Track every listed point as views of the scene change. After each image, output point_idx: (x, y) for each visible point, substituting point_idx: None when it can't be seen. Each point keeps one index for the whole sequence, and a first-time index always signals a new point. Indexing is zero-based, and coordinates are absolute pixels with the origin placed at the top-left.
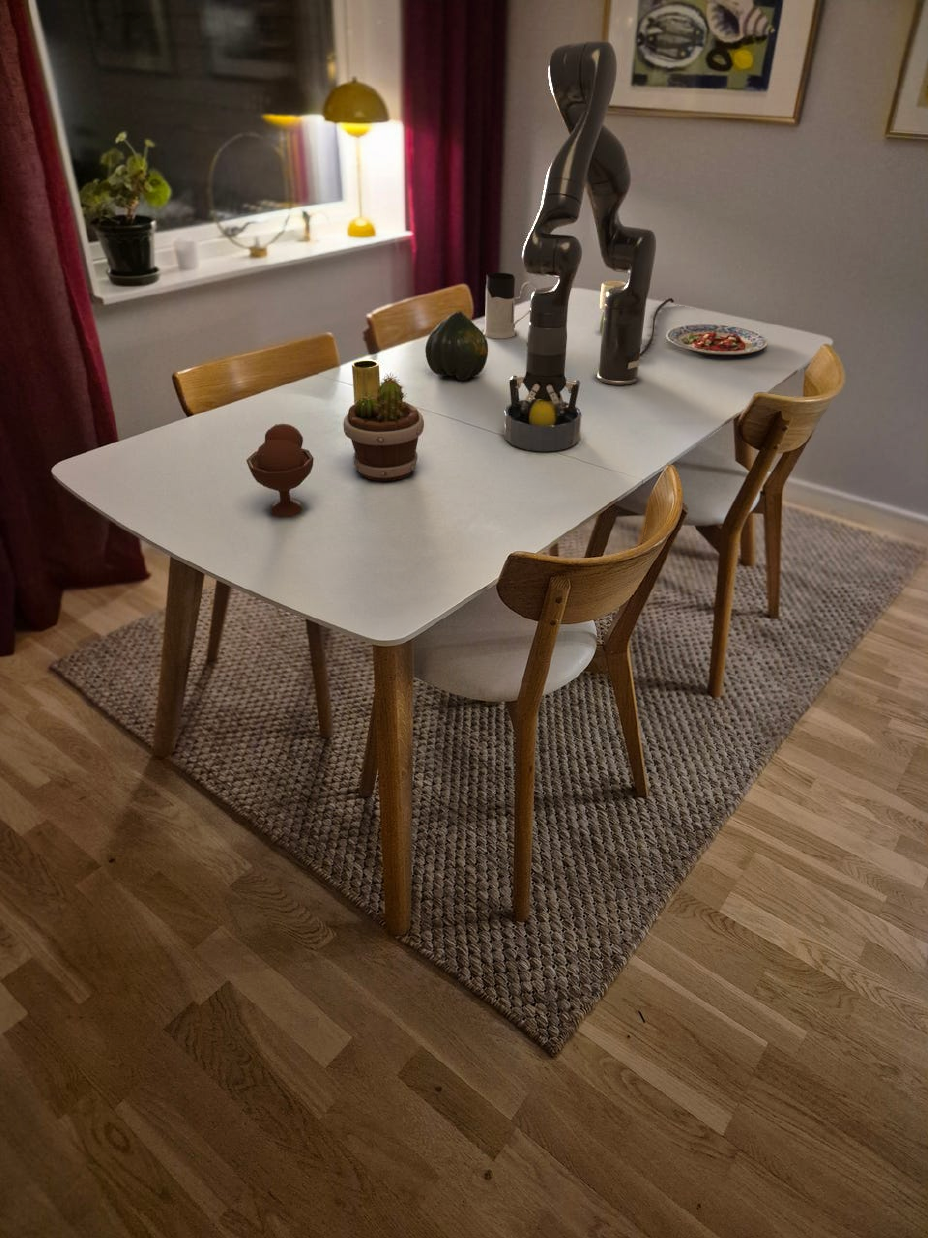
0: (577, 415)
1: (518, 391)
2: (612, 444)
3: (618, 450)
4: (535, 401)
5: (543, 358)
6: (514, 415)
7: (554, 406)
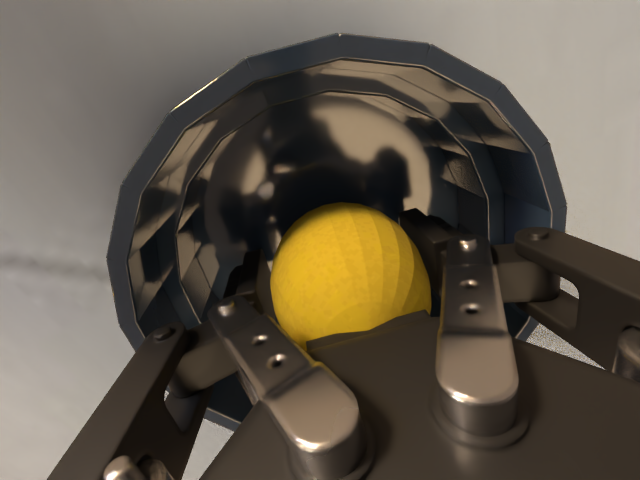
0: (527, 188)
1: (151, 395)
2: (609, 156)
3: (629, 199)
4: (306, 339)
5: None
6: (156, 230)
7: (429, 296)
